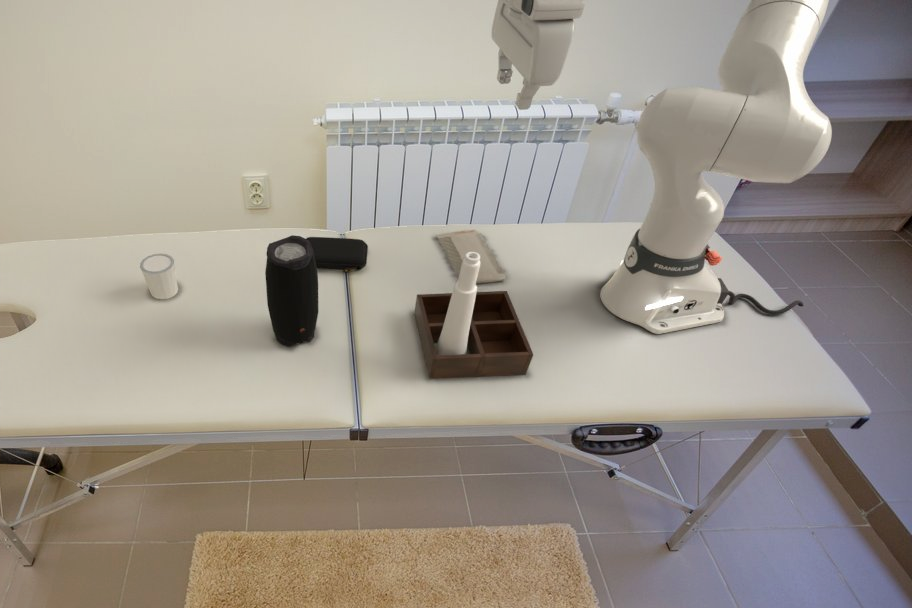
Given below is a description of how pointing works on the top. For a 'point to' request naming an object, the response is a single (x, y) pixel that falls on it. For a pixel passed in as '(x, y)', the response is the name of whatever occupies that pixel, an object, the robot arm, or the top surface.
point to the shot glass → (160, 275)
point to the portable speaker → (292, 290)
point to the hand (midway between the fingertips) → (512, 94)
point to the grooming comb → (472, 242)
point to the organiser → (474, 337)
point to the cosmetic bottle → (460, 309)
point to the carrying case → (339, 253)
